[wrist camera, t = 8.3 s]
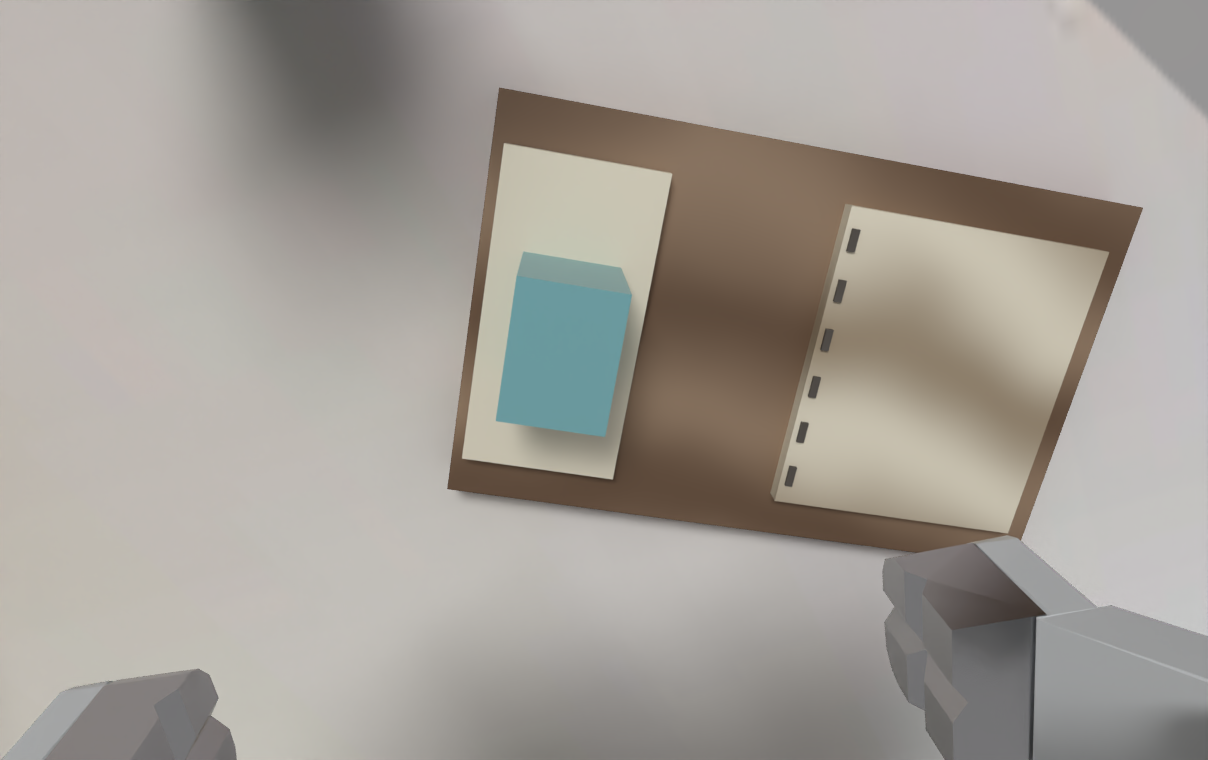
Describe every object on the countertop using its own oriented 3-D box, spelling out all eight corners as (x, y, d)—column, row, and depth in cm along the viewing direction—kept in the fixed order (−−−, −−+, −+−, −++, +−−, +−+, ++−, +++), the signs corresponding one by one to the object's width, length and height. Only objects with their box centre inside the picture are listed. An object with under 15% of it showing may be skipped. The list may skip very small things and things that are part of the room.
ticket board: (990, 544, 31) (1022, 576, 29) (452, 470, 29) (444, 498, 27) (1112, 203, 27) (1158, 210, 25) (502, 89, 25) (497, 86, 23)
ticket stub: (611, 472, 27) (621, 538, 23) (463, 451, 27) (445, 515, 23) (669, 172, 25) (693, 183, 20) (505, 142, 24) (493, 148, 20)
